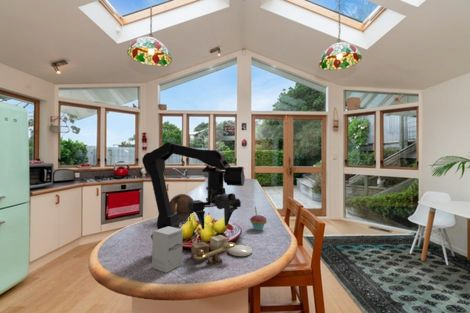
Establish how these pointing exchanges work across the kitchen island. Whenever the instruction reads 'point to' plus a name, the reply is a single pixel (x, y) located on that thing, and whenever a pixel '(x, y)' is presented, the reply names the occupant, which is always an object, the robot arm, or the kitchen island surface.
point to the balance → (213, 253)
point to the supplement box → (167, 248)
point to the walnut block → (196, 247)
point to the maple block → (217, 242)
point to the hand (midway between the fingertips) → (214, 227)
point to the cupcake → (258, 221)
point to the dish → (240, 250)
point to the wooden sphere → (181, 206)
